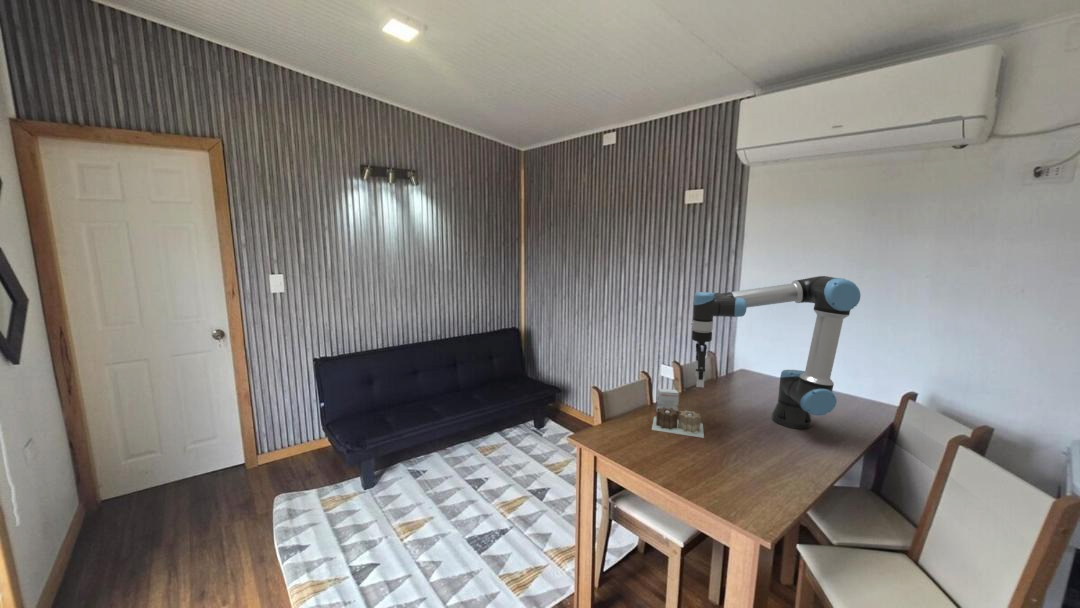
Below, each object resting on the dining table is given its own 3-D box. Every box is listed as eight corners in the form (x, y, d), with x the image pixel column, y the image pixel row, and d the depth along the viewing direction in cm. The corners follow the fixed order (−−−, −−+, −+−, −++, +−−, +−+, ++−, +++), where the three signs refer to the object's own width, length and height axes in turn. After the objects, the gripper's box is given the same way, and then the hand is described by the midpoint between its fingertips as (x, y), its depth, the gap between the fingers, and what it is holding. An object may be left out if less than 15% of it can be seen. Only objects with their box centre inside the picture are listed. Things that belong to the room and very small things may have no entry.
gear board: (702, 426, 179) (703, 410, 178) (703, 440, 166) (705, 423, 165) (653, 418, 185) (654, 403, 184) (651, 432, 172) (652, 415, 171)
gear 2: (699, 425, 176) (700, 411, 176) (700, 434, 169) (701, 419, 168) (678, 422, 179) (679, 409, 178) (678, 430, 171) (679, 416, 170)
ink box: (657, 417, 187) (659, 392, 185) (655, 413, 192) (657, 388, 190) (677, 418, 186) (679, 393, 184) (675, 414, 191) (676, 389, 189)
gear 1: (677, 422, 179) (678, 409, 178) (676, 430, 171) (677, 416, 171) (657, 419, 182) (657, 406, 181) (655, 427, 174) (656, 413, 173)
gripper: (691, 324, 182) (689, 371, 185) (693, 336, 159) (690, 390, 162) (710, 325, 180) (707, 373, 183) (714, 338, 156) (711, 392, 159)
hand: (699, 381), depth 172 cm, fingers open, 13 cm apart
